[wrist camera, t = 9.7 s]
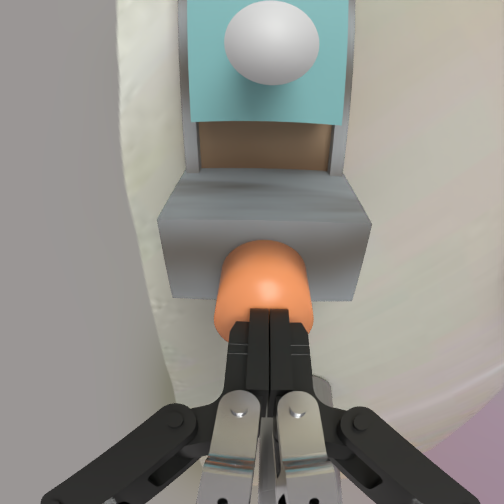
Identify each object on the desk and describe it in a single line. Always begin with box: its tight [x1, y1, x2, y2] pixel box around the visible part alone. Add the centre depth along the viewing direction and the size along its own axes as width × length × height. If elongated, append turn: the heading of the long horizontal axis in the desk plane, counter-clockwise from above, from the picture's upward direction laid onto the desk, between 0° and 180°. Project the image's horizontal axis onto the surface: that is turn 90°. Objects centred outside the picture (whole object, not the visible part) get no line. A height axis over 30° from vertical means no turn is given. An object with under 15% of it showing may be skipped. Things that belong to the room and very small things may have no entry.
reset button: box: [214, 240, 314, 342], centre depth 14 cm, size 4×4×3 cm
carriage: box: [187, 0, 349, 126], centre depth 11 cm, size 7×7×10 cm
